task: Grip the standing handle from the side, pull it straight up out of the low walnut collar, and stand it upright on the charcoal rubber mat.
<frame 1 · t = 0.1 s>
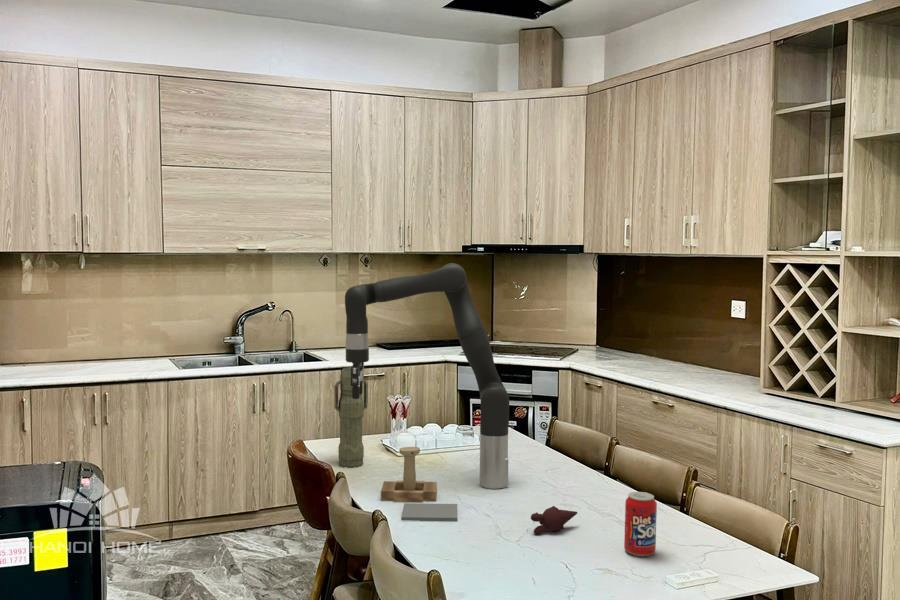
hand: (357, 396, 252), 29 cm above the table, tool pointing down, fingers open, 8 cm apart
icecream: (554, 531, 214), on the table
mat: (430, 513, 226), on the table
handle: (409, 496, 242), resting in collar
thermos: (350, 465, 276), on the table
collar: (409, 495, 242), on the table
soda can: (639, 553, 199), on the table
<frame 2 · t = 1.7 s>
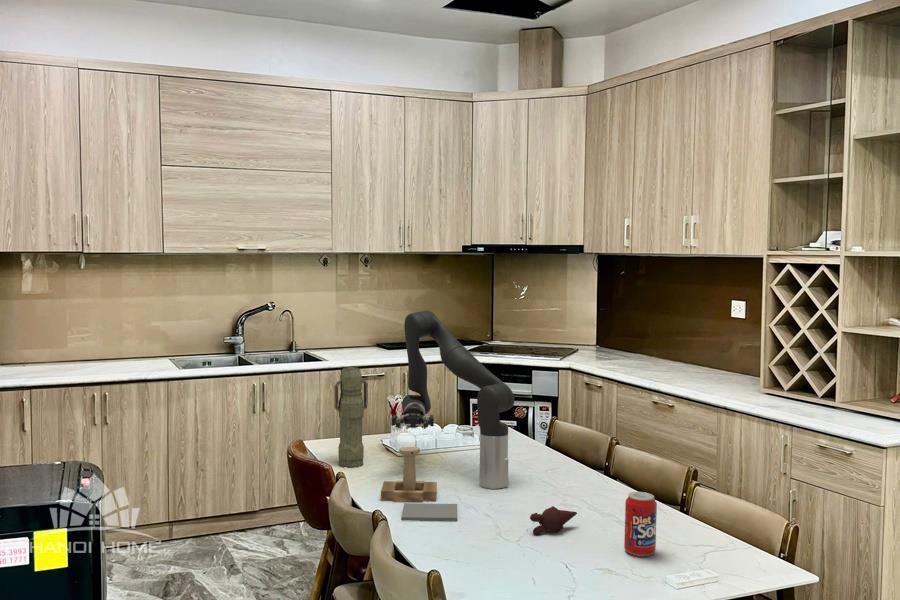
hand: (411, 425, 252), 20 cm above the table, tool horizontal, fingers open, 8 cm apart
nothing on the table moved.
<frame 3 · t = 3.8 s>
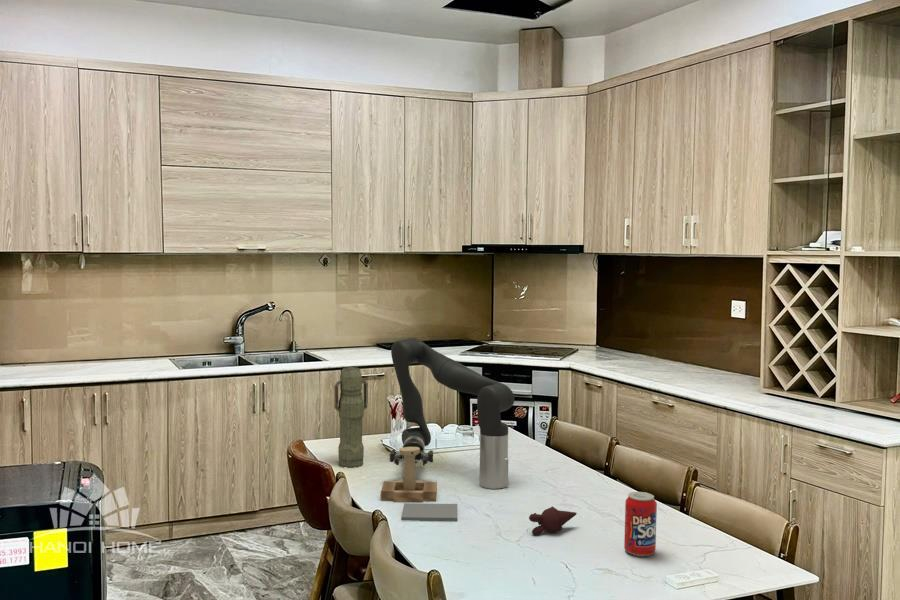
hand: (410, 462, 247), 9 cm above the table, tool horizontal, fingers open, 8 cm apart
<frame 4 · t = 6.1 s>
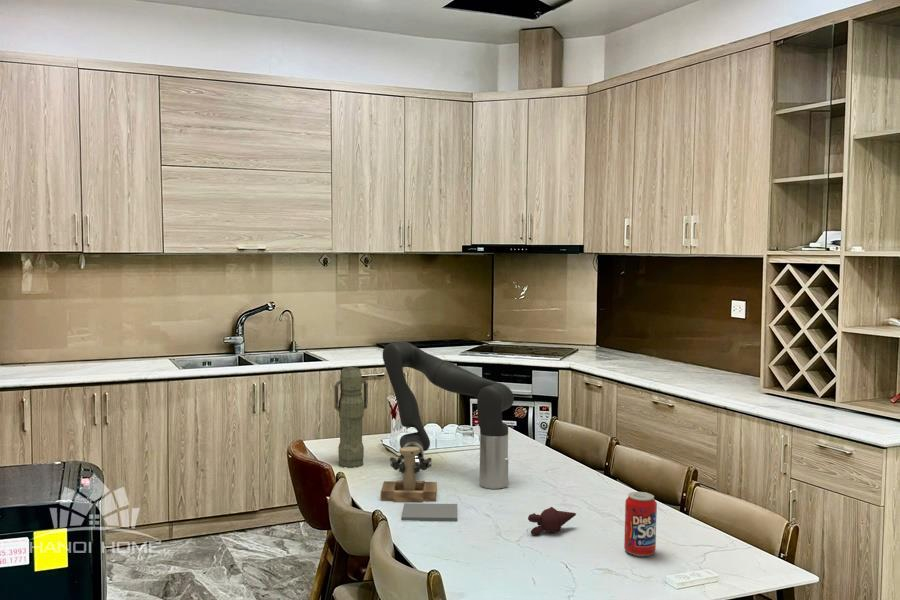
hand: (409, 470, 238), 9 cm above the table, tool horizontal, fingers closed on handle, 3 cm apart
handle: (409, 496, 242), resting in collar, touching gripper
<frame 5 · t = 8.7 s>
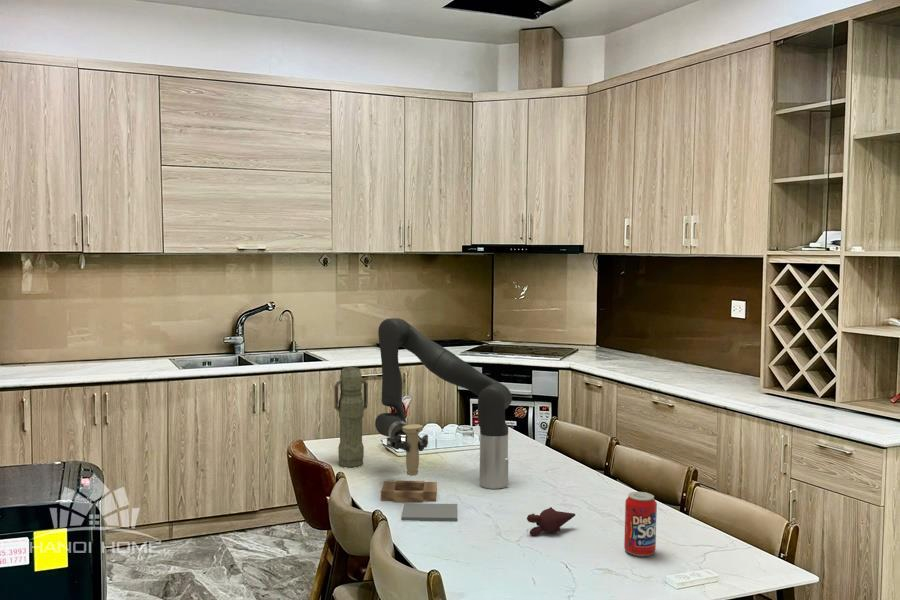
hand: (414, 448, 232), 17 cm above the table, tool horizontal, fingers closed on handle, 3 cm apart
handle: (412, 475, 236), point 8 cm above the table, touching gripper
when the fingers open (11 cm above the table, at t = 11.8 s): handle drops 1 cm, resting on mat.
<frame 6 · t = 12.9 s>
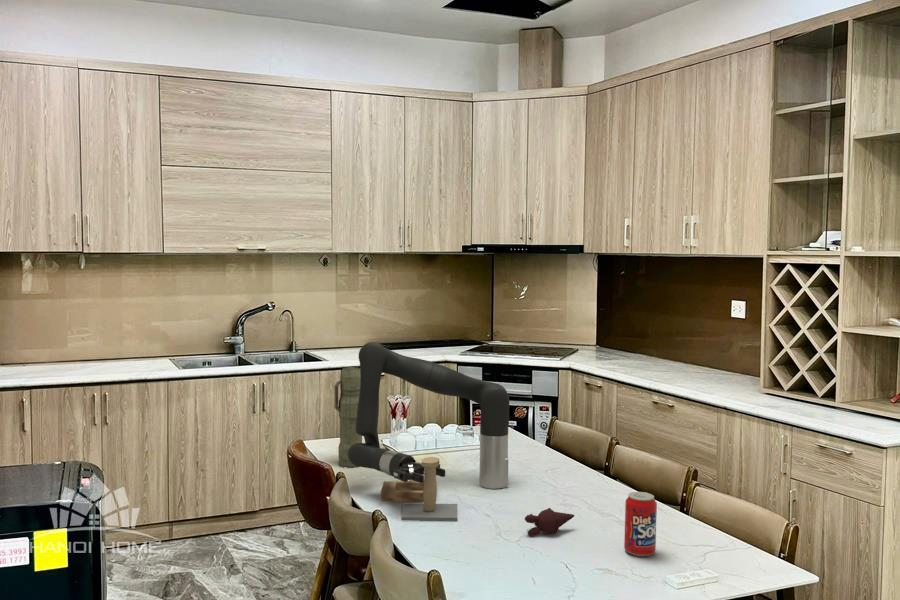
hand: (434, 476, 224), 11 cm above the table, tool horizontal, fingers open, 8 cm apart
handle: (429, 510, 226), point 1 cm above the table, touching mat
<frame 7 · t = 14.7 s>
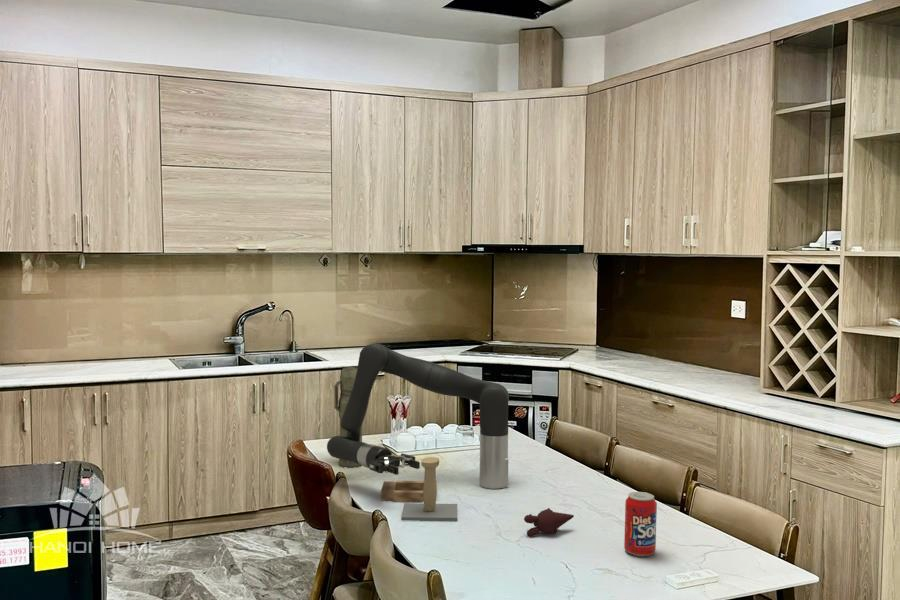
hand: (408, 468, 232), 12 cm above the table, tool horizontal, fingers open, 8 cm apart
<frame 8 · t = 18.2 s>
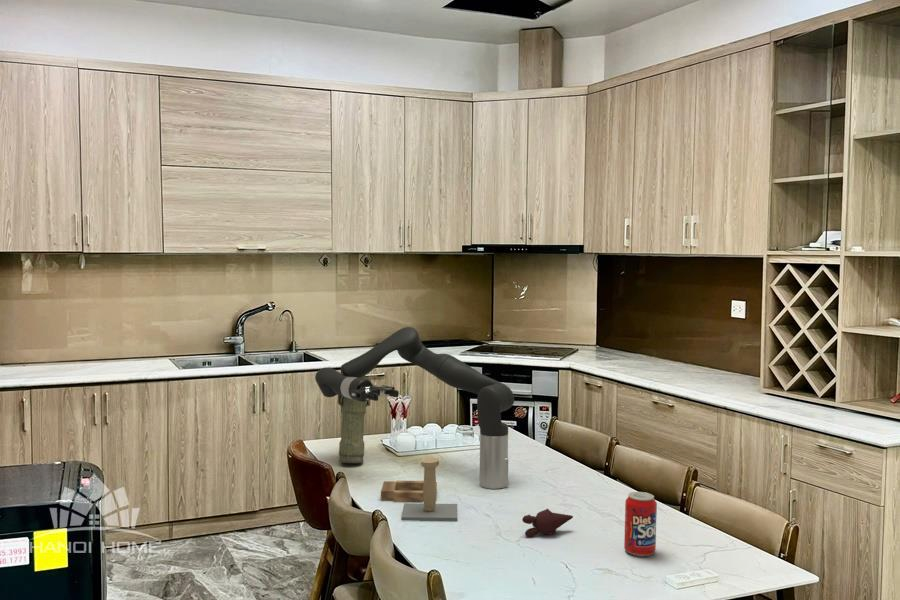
hand: (387, 395, 248), 30 cm above the table, tool horizontal, fingers open, 8 cm apart
thermos: (350, 462, 276), point 1 cm above the table, touching arm
at the end: handle inside the target area (0.1 cm from its centre), point 0.8 cm above the table; handle tilted 0°; the gripper is holding nothing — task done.
